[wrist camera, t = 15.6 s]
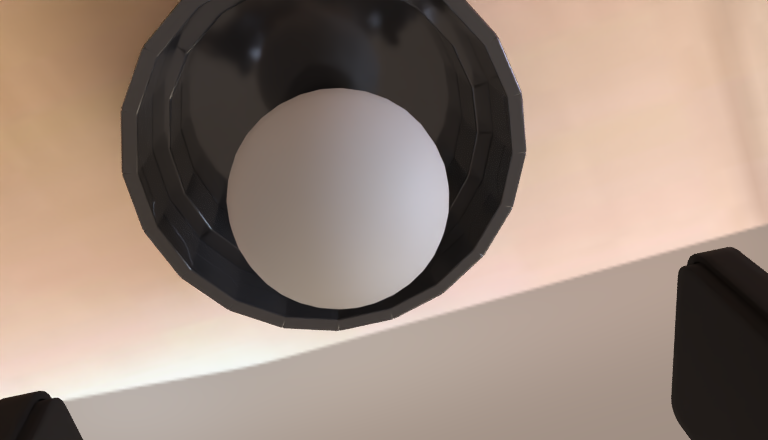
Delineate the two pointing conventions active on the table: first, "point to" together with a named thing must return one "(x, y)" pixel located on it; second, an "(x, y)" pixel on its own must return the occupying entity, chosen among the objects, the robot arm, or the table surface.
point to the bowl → (302, 75)
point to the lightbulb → (338, 198)
